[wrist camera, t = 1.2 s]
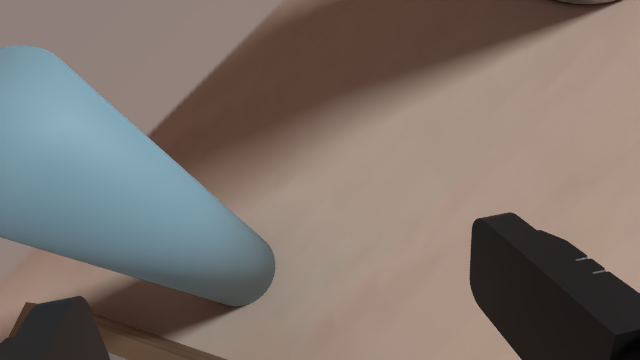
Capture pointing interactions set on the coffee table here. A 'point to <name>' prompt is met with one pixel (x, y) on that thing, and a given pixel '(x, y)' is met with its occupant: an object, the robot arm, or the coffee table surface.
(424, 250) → the coffee table surface
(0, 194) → the blue-grey painted peg
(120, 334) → the walnut crate
